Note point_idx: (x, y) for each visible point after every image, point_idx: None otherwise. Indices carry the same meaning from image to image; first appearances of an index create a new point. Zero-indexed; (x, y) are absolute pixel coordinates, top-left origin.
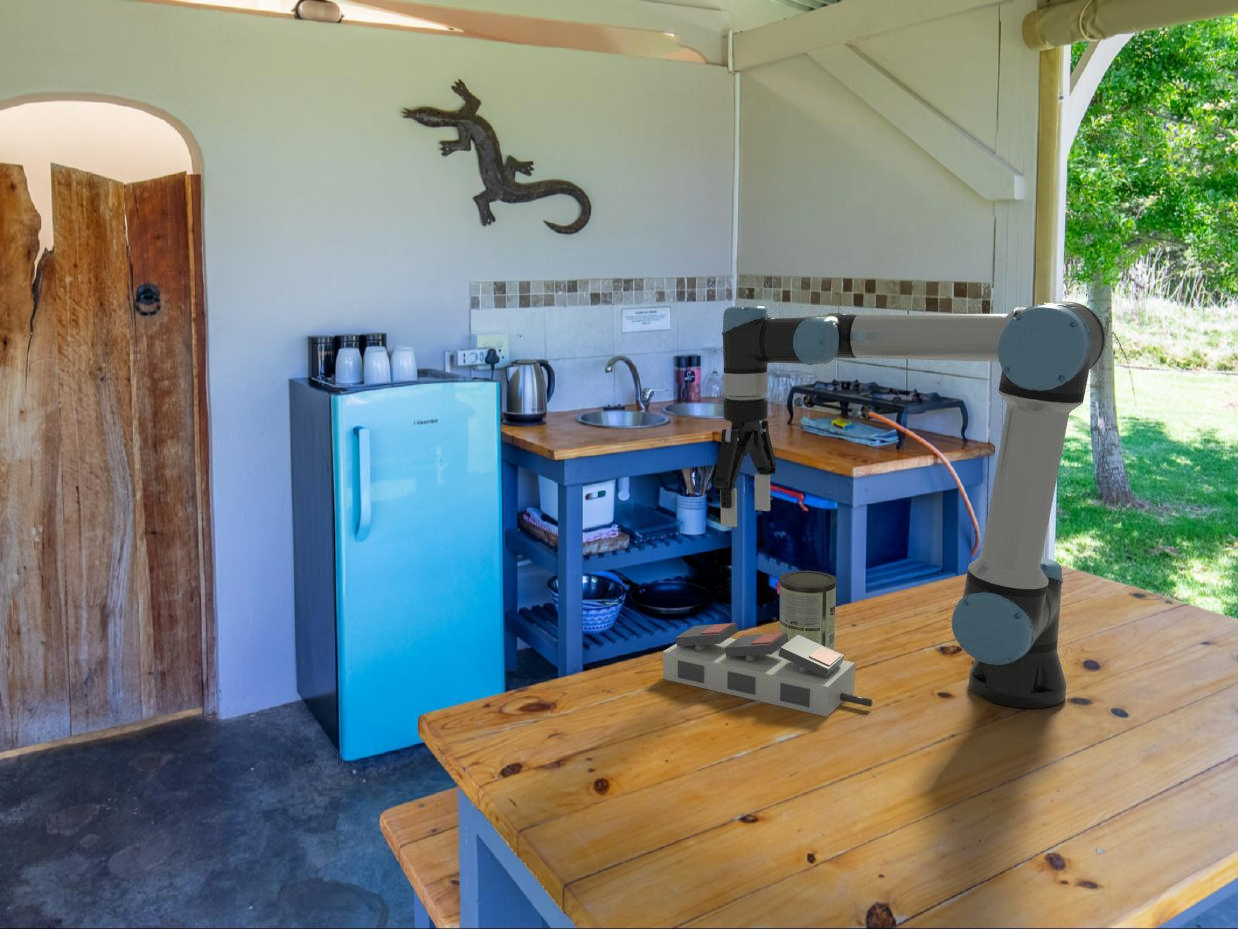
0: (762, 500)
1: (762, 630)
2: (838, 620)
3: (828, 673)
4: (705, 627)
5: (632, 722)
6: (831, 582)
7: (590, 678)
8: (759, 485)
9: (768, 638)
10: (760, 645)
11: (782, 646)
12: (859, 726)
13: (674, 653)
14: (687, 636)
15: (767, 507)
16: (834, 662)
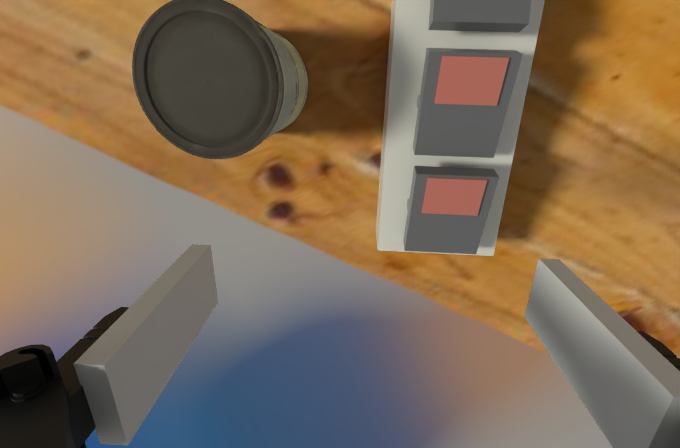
0: (195, 296)
1: (210, 191)
2: (80, 91)
3: None
4: (426, 225)
5: (647, 205)
6: (201, 6)
7: (513, 318)
8: (158, 362)
9: (475, 76)
10: (515, 77)
11: (522, 22)
12: None
13: (495, 237)
14: (479, 234)
15: (205, 257)
16: None
